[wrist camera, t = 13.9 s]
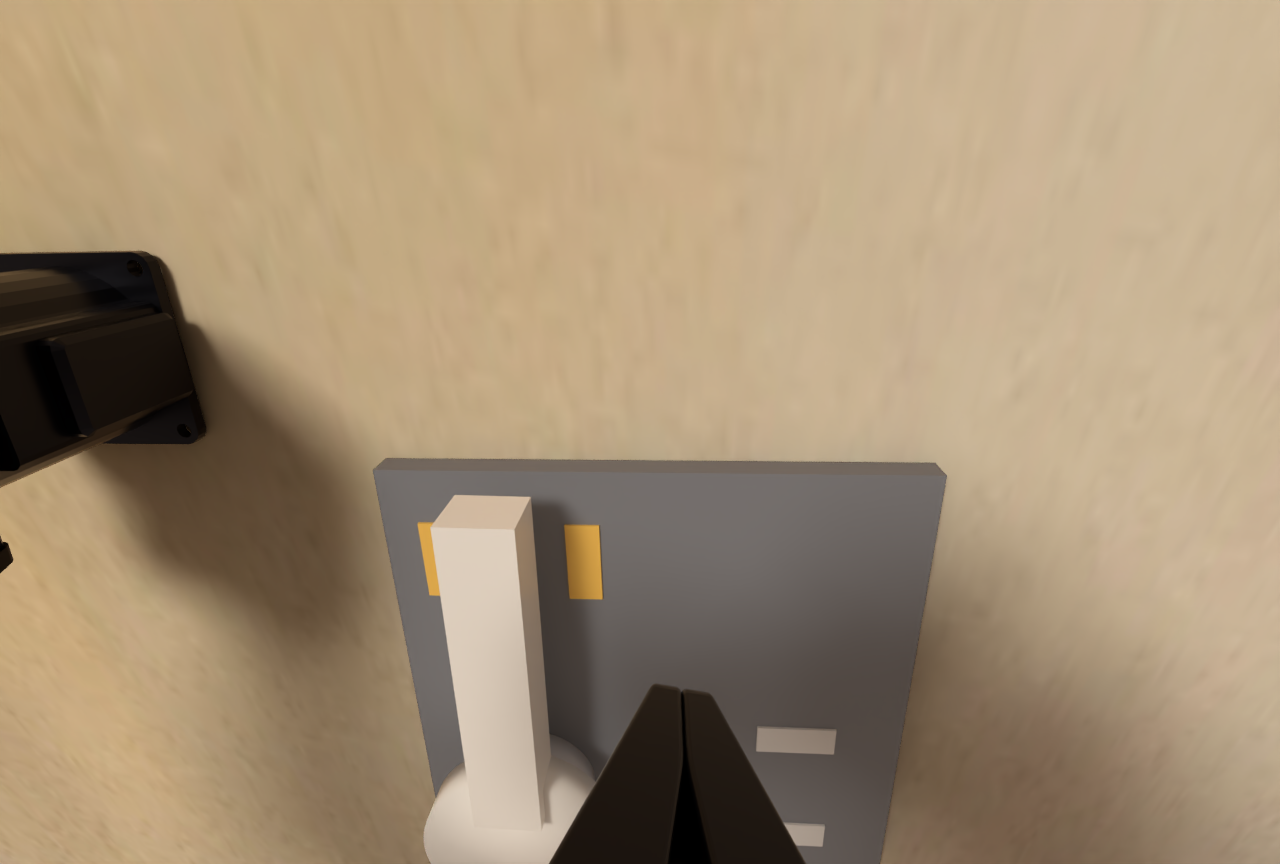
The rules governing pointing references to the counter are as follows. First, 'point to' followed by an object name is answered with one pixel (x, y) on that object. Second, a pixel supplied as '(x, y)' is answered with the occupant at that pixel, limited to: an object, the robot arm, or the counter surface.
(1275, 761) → the counter surface
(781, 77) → the counter surface
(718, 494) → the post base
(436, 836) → the lever switch
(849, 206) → the counter surface
